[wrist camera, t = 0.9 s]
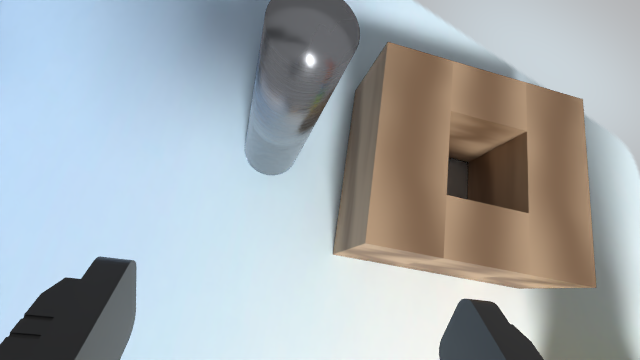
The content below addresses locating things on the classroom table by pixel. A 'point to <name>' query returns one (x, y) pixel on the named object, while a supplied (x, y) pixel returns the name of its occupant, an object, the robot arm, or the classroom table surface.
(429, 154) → the bore block
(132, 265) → the robot arm
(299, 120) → the long pin
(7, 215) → the classroom table surface
